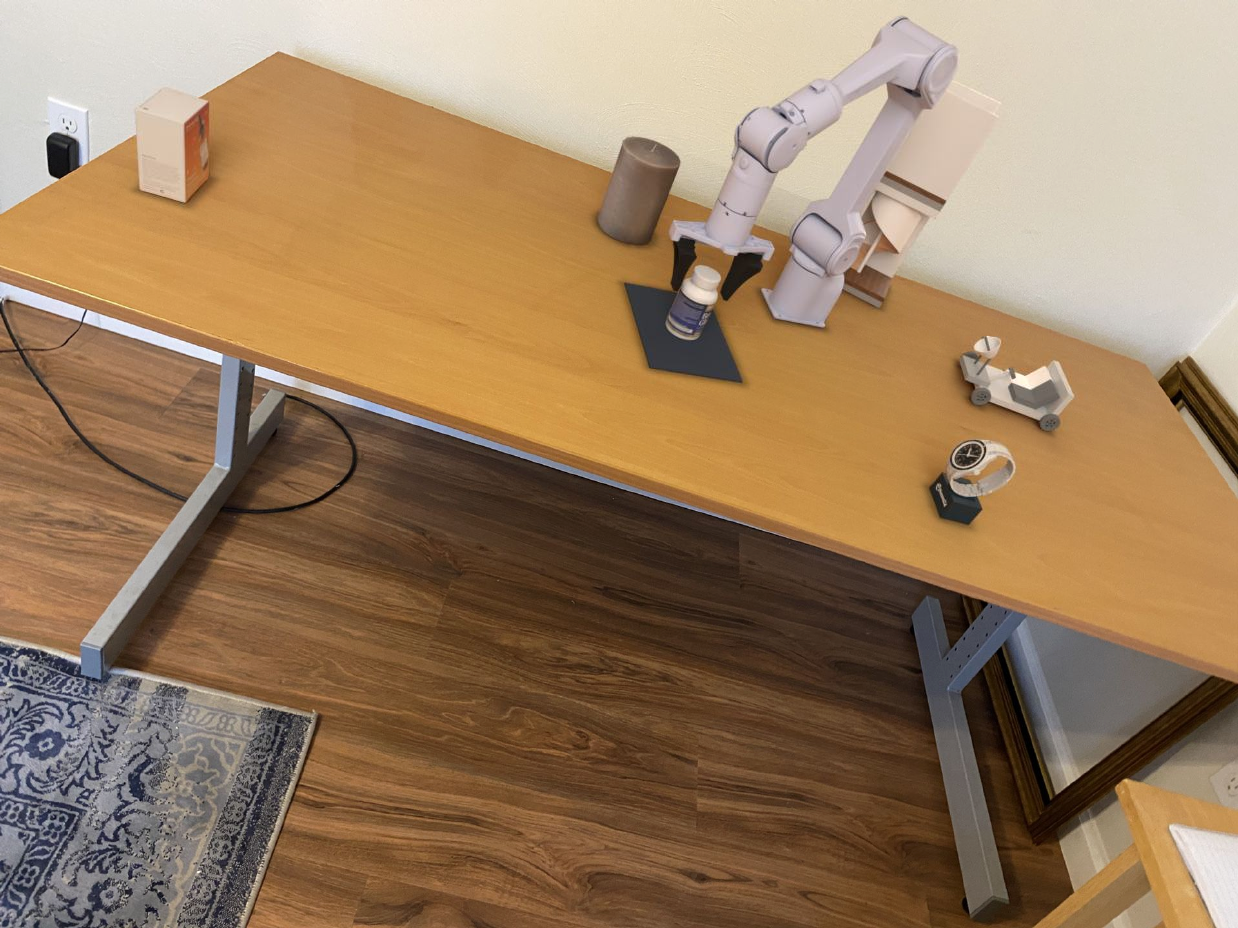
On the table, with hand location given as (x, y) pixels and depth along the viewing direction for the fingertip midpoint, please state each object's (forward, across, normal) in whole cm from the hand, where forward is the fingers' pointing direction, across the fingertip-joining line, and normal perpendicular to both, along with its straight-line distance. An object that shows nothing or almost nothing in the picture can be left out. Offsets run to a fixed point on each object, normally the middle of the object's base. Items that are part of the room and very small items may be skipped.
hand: (699, 292), depth 117 cm
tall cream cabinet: (+7, +41, +26) cm, 49 cm away
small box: (+7, -68, +13) cm, 70 cm away
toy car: (+7, +57, -2) cm, 57 cm away
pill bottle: (+7, 0, 0) cm, 7 cm away
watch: (+7, +32, -30) cm, 44 cm away
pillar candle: (+7, -4, +27) cm, 28 cm away
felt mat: (+7, 0, 0) cm, 7 cm away
